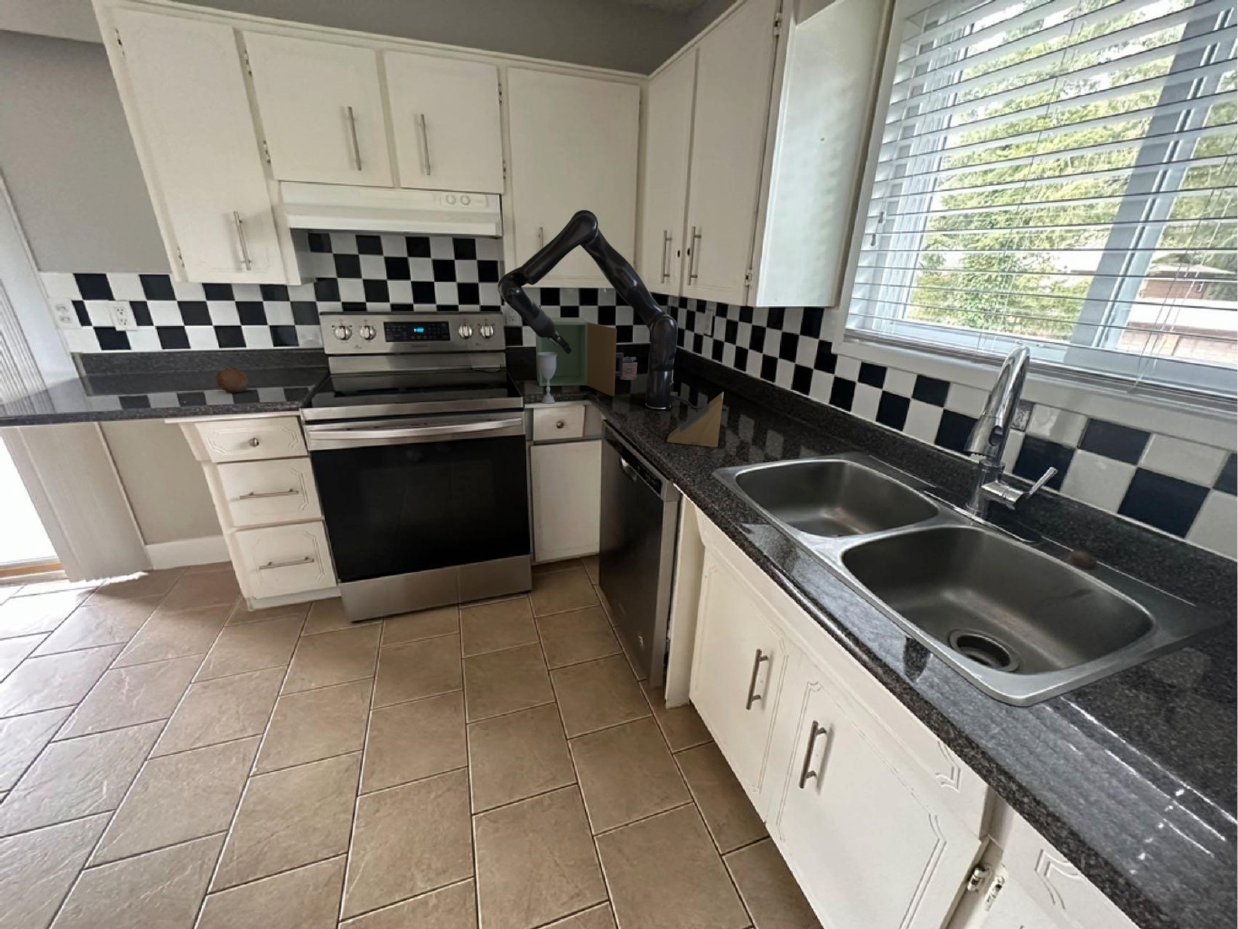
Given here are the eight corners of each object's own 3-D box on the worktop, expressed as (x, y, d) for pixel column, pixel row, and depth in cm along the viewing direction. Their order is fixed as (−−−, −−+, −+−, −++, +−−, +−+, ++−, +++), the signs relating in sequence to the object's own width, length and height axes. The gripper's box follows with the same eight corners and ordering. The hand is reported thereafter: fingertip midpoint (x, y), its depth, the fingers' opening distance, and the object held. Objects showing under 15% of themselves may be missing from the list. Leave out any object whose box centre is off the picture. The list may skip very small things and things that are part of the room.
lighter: (620, 380, 226) (621, 357, 222) (618, 378, 229) (619, 356, 225) (637, 379, 228) (638, 357, 224) (635, 377, 231) (636, 356, 227)
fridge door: (599, 383, 217) (600, 321, 207) (625, 394, 201) (628, 328, 191) (586, 385, 214) (587, 322, 204) (612, 396, 198) (614, 328, 188)
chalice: (559, 400, 191) (559, 352, 184) (556, 404, 185) (555, 355, 178) (541, 399, 191) (539, 351, 185) (536, 403, 185) (535, 354, 178)
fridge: (587, 385, 214) (588, 321, 204) (539, 386, 210) (537, 321, 200) (582, 377, 227) (582, 317, 217) (536, 378, 222) (535, 317, 212)
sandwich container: (669, 433, 159) (673, 386, 153) (718, 438, 156) (723, 391, 151) (666, 442, 151) (669, 393, 146) (717, 447, 148) (723, 398, 143)
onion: (237, 397, 190) (234, 371, 190) (256, 392, 187) (253, 366, 188) (211, 394, 181) (207, 366, 181) (230, 389, 178) (227, 361, 179)
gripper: (556, 320, 174) (580, 347, 187) (535, 306, 182) (559, 333, 195) (542, 336, 174) (567, 362, 187) (522, 322, 182) (547, 348, 195)
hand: (563, 347), depth 191 cm, fingers open, 8 cm apart
